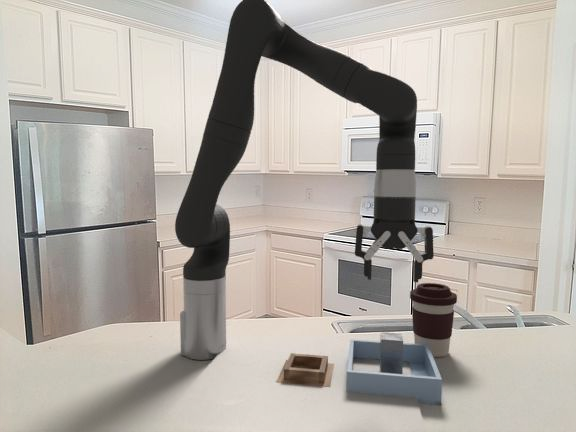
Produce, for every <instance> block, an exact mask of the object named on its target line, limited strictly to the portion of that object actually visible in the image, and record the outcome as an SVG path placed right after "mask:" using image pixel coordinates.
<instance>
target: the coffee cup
mask: <svg viewBox="0 0 576 432" xmlns="http://www.w3.org/2000/svg"><path fill="white" fill-rule="evenodd" d="M409 299H410V300H411V301H412V307H411V311H412V312H411V314H412V316H411V317H412V331H413V338H414V339H413V340H414V344H427V345H428V346H429V348H430V351H431V353H432V356H433V358H441V357H442V358H443V357H446V356H448V354H449V352H450V344H451V337H452V334H453V327H454V326H453V325H454V315H455V311H454V305H456V304H457V302H458V294H456V293H455V292H453V291H451V288H450V287H449V286H448V285H446V284H441V283H433V282H424V283H423V282H422V283H419V284H417V285H416V288H414V289H411V290H410V292H409Z"/></svg>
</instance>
